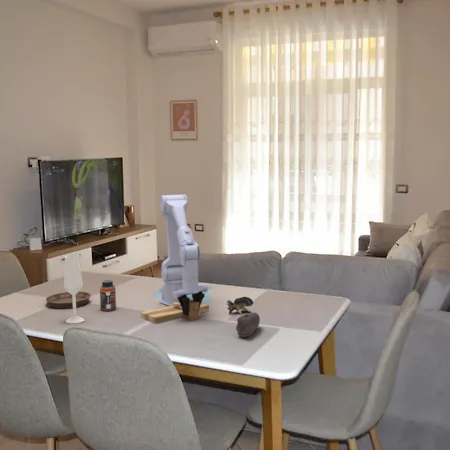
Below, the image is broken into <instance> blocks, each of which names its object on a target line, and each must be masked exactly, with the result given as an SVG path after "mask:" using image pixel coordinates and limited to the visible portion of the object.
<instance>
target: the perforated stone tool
mask: <svg viewBox="0 0 450 450" xmlns="http://www.w3.org/2000/svg"><path fill="white" fill-rule="evenodd" d="M236 321H237V323H236V326H235V330H236V331H237V336H239V337H240V338H247V337H248V338H249V337H250V336H252V335H253V334H254V333H255V332H256V331H257V329H258V327H259V325H260V322H261V320H260V315H259V313H257V312H248V313H246V314H243V315H240V316H239V317H238V318H237V319H236Z"/></svg>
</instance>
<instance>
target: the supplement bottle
mask: <svg viewBox="0 0 450 450" xmlns="http://www.w3.org/2000/svg"><path fill="white" fill-rule="evenodd" d="M99 295H100V296H99V298H100V299H99V301H100V303H99V304H100V305H99V306H100V310H101V311H103V312H111V310H112V311H115V310H114V309H117V299H116V296H117V295H116V287H115V285H114V283H113V280H111V279H106V280H102V281H101V286H100V287H99Z"/></svg>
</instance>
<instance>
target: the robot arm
mask: <svg viewBox="0 0 450 450" xmlns="http://www.w3.org/2000/svg"><path fill="white" fill-rule="evenodd" d="M159 205H160V209H159V210H160V216H162V217H164V219H165V226H166V228H165V229H166V240H167V241H166V242H167V243H166V245H167V246H166V247H167V258H166V259H165V260H164V261H162V263H161V269H160V271H161V273H160V274H161V275H160V276H161V279H162V281H163V283H162V284H161V300H160V301H159V303H160V304H162V305H166V306H171V305H173V304H172V303H173V302H177V303H180V304H181V307H182V310H183V314H184V315H186V316H187V315H188V313H189V301H190V300H191V298H190V297H188V296H192V300H194V301H197V302H199V309H200V305H201V303H202V302H203V299H204V298H205V293H206V292H209V286H208V285H199V260H200V257H201V249H200V246H199V244H198V243H197V241H195V238H194V233H193V231H192V229H191V228H190V227H189V226H188V222H187V217H186V212H187V210H188V205H189V200H188V196H187V195H186V194H185V193H183V194H162V195H161V197H160V198H159ZM204 292H205V293H204Z"/></svg>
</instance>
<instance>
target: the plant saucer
mask: <svg viewBox="0 0 450 450" xmlns="http://www.w3.org/2000/svg"><path fill="white" fill-rule="evenodd" d="M91 296H92V295H91V293H89V292H86V291H79V292H78V293H77V294H76V308H77V307H80V306H83V305H85V304H86V303H87V302H88V301H89V300H90V298H91ZM45 301H46V303H47V304H48V305H49V306H51V307H52V308H55V309H73V301H72V294H70V293H69V292H67V291H65V292H60V293H59V292H58V293H55V294H52V295H49V296H48V297H46V298H45Z"/></svg>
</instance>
